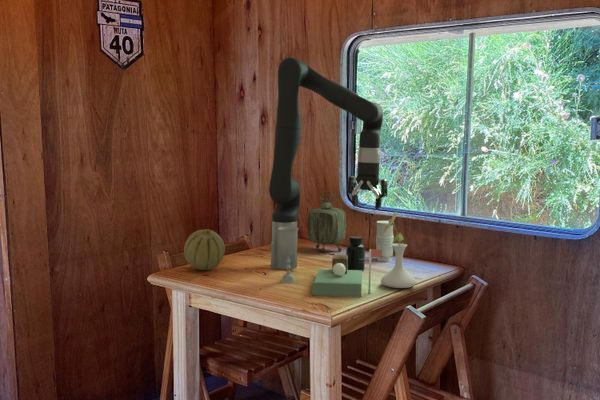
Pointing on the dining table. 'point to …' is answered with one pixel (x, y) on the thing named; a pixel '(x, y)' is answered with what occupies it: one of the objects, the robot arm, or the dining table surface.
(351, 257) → the supplement bottle
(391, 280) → the flower in vase
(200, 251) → the cantaloupe
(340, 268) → the ball
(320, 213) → the tabletop clock
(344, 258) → the wooden channel cradle
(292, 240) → the chalice
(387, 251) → the candle
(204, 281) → the dining table surface
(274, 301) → the dining table surface
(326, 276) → the green
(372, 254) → the flag pin
